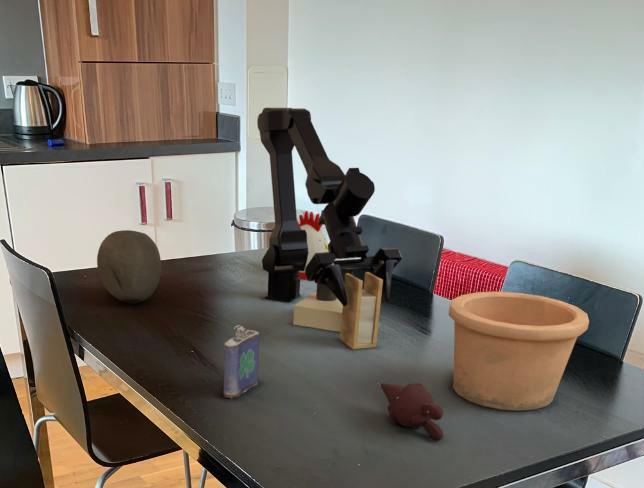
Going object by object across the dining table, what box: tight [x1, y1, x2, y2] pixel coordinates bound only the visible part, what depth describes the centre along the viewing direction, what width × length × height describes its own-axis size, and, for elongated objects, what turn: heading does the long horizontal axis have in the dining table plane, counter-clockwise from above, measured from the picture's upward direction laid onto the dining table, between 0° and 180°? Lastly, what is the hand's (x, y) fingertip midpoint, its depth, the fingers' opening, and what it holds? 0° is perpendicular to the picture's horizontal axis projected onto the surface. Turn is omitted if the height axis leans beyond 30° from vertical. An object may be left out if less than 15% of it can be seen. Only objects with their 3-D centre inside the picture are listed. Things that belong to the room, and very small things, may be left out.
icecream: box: [379, 382, 445, 441], centre depth 119 cm, size 7×7×15 cm
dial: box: [315, 284, 337, 301], centre depth 166 cm, size 4×4×4 cm
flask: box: [223, 324, 261, 399], centre depth 128 cm, size 9×3×11 cm, turn 151°
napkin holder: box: [339, 271, 383, 350], centre depth 151 cm, size 6×5×13 cm
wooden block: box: [292, 291, 343, 333], centre depth 165 cm, size 14×13×4 cm
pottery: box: [448, 291, 590, 412], centre depth 130 cm, size 22×22×14 cm
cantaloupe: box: [96, 229, 162, 305], centre depth 170 cm, size 14×14×15 cm
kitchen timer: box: [297, 210, 329, 280], centre depth 198 cm, size 14×14×15 cm
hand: (366, 303), depth 149 cm, fingers open, 9 cm apart
